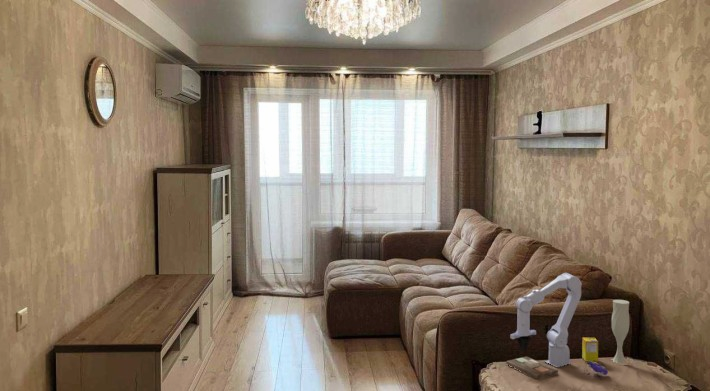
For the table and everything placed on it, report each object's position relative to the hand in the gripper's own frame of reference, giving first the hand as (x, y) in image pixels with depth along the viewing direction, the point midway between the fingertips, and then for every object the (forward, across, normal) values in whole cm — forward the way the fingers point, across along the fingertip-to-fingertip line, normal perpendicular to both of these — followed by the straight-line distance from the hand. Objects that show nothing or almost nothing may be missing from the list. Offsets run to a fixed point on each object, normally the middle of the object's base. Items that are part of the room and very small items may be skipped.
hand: (523, 351), depth 272 cm
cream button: (+6, 0, +6) cm, 8 cm away
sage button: (+7, 0, 0) cm, 7 cm away
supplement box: (+7, -33, +11) cm, 35 cm away
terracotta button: (+7, 0, +12) cm, 14 cm away
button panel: (+7, 0, +6) cm, 9 cm away
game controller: (+8, -20, +26) cm, 34 cm away
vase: (+7, -44, +19) cm, 48 cm away
